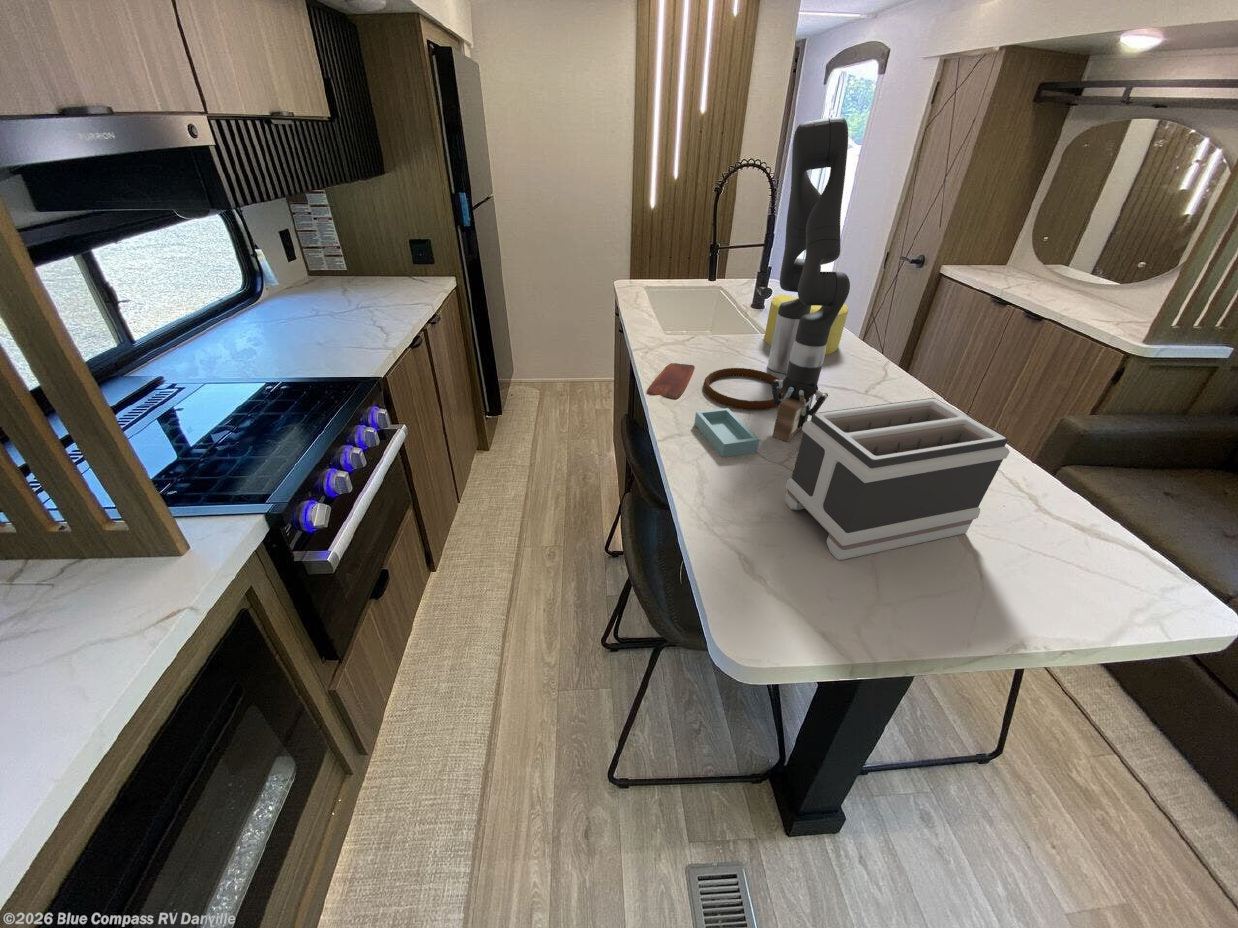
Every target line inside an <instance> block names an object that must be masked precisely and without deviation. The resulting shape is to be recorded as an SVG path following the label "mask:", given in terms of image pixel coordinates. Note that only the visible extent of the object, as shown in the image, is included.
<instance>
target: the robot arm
mask: <svg viewBox="0 0 1238 928" xmlns="http://www.w3.org/2000/svg"><path fill="white" fill-rule="evenodd" d="M793 135H794V136H793V140H792V151H791V152H792V155H791V181H790V193H789V201H788V208H787V213H786V214H787V216H786V226H785V238H784V239H785V241H784V252H783V257H782V263H781V268H780V274H779V286H780V289H781V290H783V291H786V292H791V293H792V292H793V293H797V298H798V299H795V300H791V301H787V302H783V303H782V304H780V306H779V310H778V315H777V320H776V326H775V331H774V336H773V341H772V346H771V345H770V346H771V347H770V352H769V356H768V357H769V358H768V362H767V368H768V369H769V370H771V371H773V372H776V373H781V374H785V377H784V379H780V378H779V379H776V380H775V381H773V382H772V384H771V389H772V399H773V400H774V404H777V405H779V404H780V403H781V402H782V401H784V400H785V399H786V398H788V399H789V398H792V399H796V400H799V401H800V402H801V403H802V402H803V403H802V410H801V415H800V418H799V422H798V426H797V428H801V427H803V424H804V423H805V422H806V421H808V419H807V417H808V418H809V416H811V417H812V414H813V413H818V411H819V409H820V408H821V407H822V406H823V404H824V403H825V401H826V400H827V398H828V397H829V394H828V393H827V392H822V391H821V390H820V389H819V386H818V383H819V379H820V375H821V371H822V368H823V363H824V360H825V357H826V354H825V352H826V344H827V341H828V337H829V333H830V329H831V326H832V324H833V322H834V320H835V319H836V317H837V315H838V313H839V311H840V310H841V308H842V306H843V304H846V300H847V299H848V297H849V294H850V290H851V281H850V278H849V276H848V275H847V274H846V273H845V272H841V271H821V270H822V266H823V265H827V264H831V263H833V262H835V261H836V260H837V259H838V258H840V255H841V249H842V248H841V218H842V217H841V214H842V203H843V197H844V189H845V181H846V180H845V178H846V171H847V170H846V169H847V159H848V149H849V148H848V147H849V126H848V121H847V119H846V118H845V117H843V116H835V117H827V118H820V119H815V120H814V119H813V120H807V121H805V122H802V123H800V124H799V125H797V127H796V129H795V131H794V134H793ZM826 168H830V171H829V176H828V180H827V182H826V185H825V187H824V189H823V191H822V192H821V193H820V192H819V190H818V189H817V188H816V187H815V185H814V184H813V183H812V181H811V179H810V177H809V175H808V172H807V171H810V170H819V169H826ZM804 251H805V256H804V257H805V258H798V257H799V256H800V255H801V254H802V253H803V252H804ZM811 305H819V306H822V307H821V308H820V309H819V310H818V311H816V312H814V313H810V310H811ZM782 386H784V388H785V391H786V395H785V397H784V398H783V399H782V392H781V388H782ZM813 395H815V401H816V402H815V403H814V405H813V406H811V408H810V397H811V396H813ZM813 397H814V396H813ZM801 429H802V428H801Z"/></svg>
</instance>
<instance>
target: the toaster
mask: <svg viewBox="0 0 1238 928" xmlns="http://www.w3.org/2000/svg"><path fill="white" fill-rule="evenodd" d="M801 430H802V435H801V440H800V444H799V448H798V450H797V455H796V459H795V463H794V467H793V470H792V471H793V472H792V475H791V477H790V478H788V479H787V481H786V484H785V488H786V490H787V491H786V495H785V500H784V503H785V505H786V506H788V507H789V509H790V510H795V511H800V510H806V511H807V512H808V514H810V515H811V517H812V518H814V520H815V521H817V523H818V524H819V525H820V526H821V527H822V528H823V529H824V530H825V531H826V532H827V533H828V536H827V539H826V545H827V547H828V550H829V553H831V554H832V556H833V557H834V558H835V559H836V560H839V561H843V560H847V559H853V558H856V557H861V556H867V555H871V554H874V553H875V554H877V553H879V552H884V551H885V552H886V551H890V550H894V549H898V548H903V547H907V546H912V545H918V544H922V543H926V542H932V541H935V540H941V539H945V538H949V537H950V538H951V537H955V536H959V535H963V534H966V533H967V532H968V530H969V528H970V527H971V525H972V523H973V520H976V519H978V518H979V516H980V514H981V508H980V507H979V506H980V504H981V502H982V501H983V499H984V497H985V495H986V493H987V491H988V489H989V488H990V485H991V484H992V482H993V479H994V477H995V476H996V474H997V472H998V470H999V468H1000V466H1001V464H1002V462H1004V461H1003V460H1006V459H1007V458H1008V456H1009V454H1010V452H1011V451H1010V449H1009V448H1008V447H1007V446H1006V445H1007V443H1008V441H1009V439H1008V437H1006V436H1004V435H1002V434H1001V433H999V432H997V431H995V430H993V429H992V428H990V427H988V426H986V425H984V424H983V423H981V422H979V421H978V420H976V419H974V418H972V417H970V416H968V415H966V414H965V413H964V412H961V411H959V410H958V409H956V408H955V407H952V406H950V405H949V404H947V403H945V402H943V401H942V400H939V398H937V397H936V398H935V397H930V398H924V399H923V398H921V399H916V400H915V399H914V400H907V401H899V402H897V401H896V402H891V403H883V404H876V405H867V406H859V407H853V408H852V407H851V408H845V409H844V408H843V409H837V410H829V411H821V412H816V413H813V414H812V416H811V418H810V420H807V422H805V423H804V424H803V427H802V428H801Z"/></svg>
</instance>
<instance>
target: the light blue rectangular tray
mask: <svg viewBox="0 0 1238 928" xmlns="http://www.w3.org/2000/svg"><path fill="white" fill-rule="evenodd" d="M694 416H695V417H694V425H695V426H696V427H697V429H698V430H699V432H701V433H702V435H703V436H704V437H705V438H706V439H707V440H708V442H709V443H710V445H711V446H712V447H713V448H714V449H715V451H716V452H717V453H718V454H719V456H721V458H726V457H733V456H734V457H735V456H740V455H746V454H747V455H748V454H754V453H757V452H758V447H759V444H760V443H759V442H760V439H759V437H758V436H756V434H754V433H753V431H751V430H750V429H749V427H747V425H745V424H744V423H743V422H742V420H740V418H738V416H737V415H736V414H734V412H733V411H731V409H730V408H729V407H725V408H719V409H718V408H716V409H710V410H709V409H708V410H699V411H698V410H697V411H695V415H694Z"/></svg>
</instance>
